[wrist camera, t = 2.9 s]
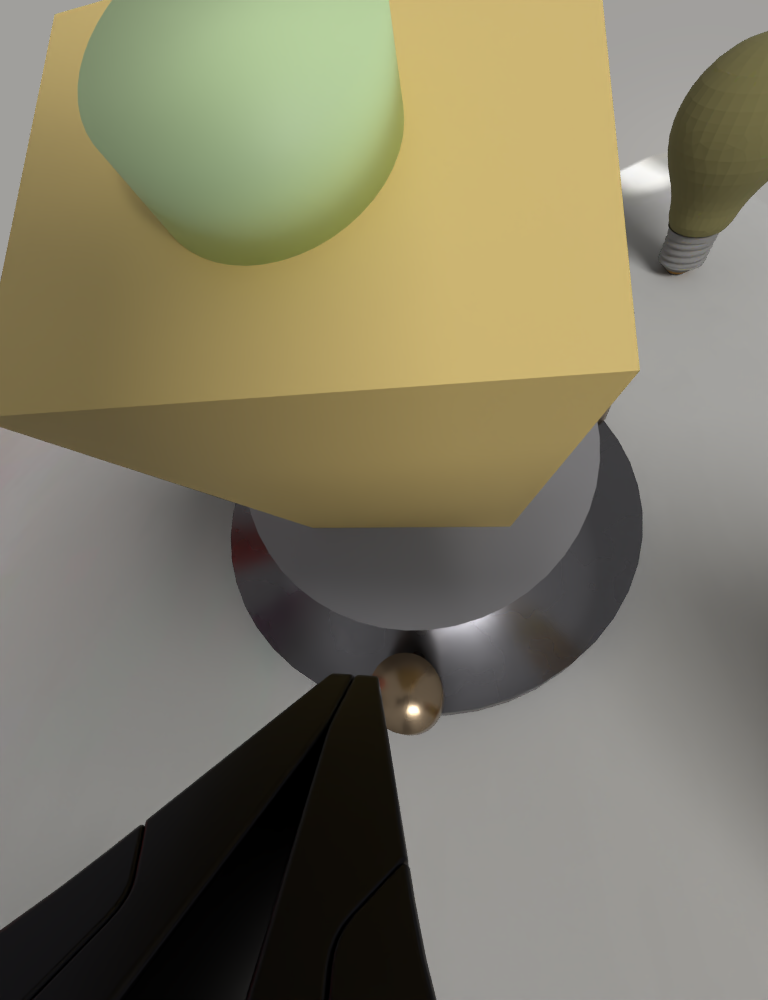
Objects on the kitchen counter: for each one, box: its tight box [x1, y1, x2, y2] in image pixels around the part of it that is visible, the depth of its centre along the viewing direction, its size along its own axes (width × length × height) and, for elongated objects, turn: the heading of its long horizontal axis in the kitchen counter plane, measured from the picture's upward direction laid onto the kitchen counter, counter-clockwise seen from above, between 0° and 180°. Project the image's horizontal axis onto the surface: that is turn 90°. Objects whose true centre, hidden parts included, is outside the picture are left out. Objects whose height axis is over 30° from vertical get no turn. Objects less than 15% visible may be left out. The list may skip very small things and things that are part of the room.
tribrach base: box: [231, 406, 642, 735], centre depth 19 cm, size 19×18×4 cm
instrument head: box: [0, 0, 640, 631], centre depth 10 cm, size 13×13×13 cm
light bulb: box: [658, 31, 768, 275], centre depth 21 cm, size 6×6×10 cm
